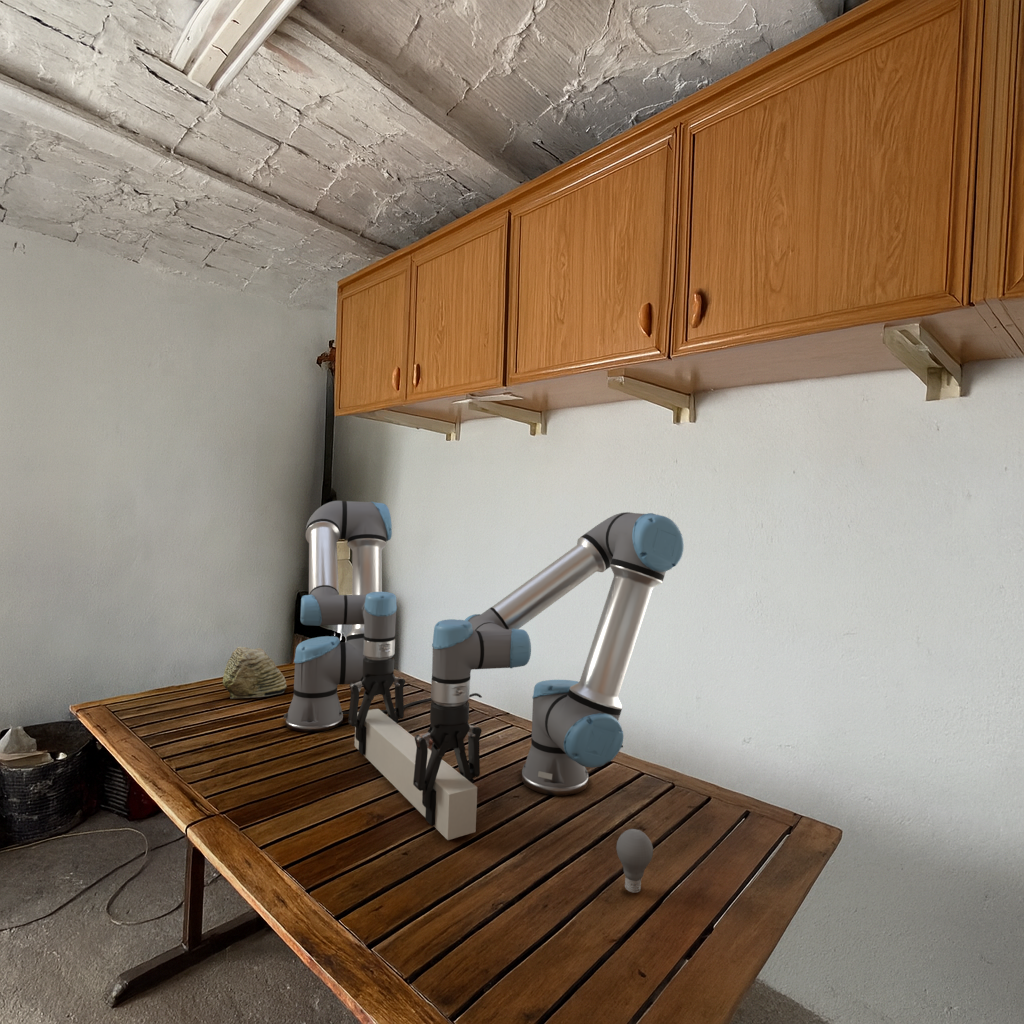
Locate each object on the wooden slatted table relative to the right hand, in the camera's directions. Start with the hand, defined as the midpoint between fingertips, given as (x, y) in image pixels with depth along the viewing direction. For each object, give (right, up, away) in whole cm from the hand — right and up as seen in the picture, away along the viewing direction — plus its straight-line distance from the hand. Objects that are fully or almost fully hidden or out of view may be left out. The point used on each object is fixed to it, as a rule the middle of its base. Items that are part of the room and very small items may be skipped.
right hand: (445, 817), depth 124 cm
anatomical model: (-8, -1, +42) cm, 42 cm away
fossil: (-68, +2, +74) cm, 101 cm away
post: (-10, 0, +15) cm, 19 cm away
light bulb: (+33, -4, -18) cm, 38 cm away
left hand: (-21, +1, +31) cm, 37 cm away
